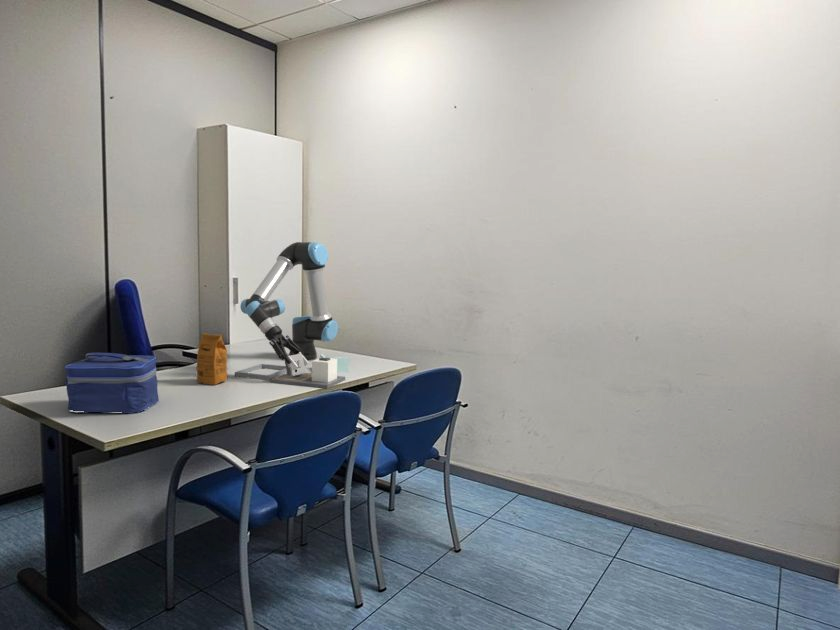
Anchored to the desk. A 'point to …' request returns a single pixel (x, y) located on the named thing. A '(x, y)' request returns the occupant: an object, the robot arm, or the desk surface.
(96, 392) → the lunch bag
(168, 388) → the desk surface
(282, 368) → the tray frame
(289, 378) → the power dock
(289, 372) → the electrical switch
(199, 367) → the coffee package
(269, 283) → the robot arm
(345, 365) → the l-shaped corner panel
